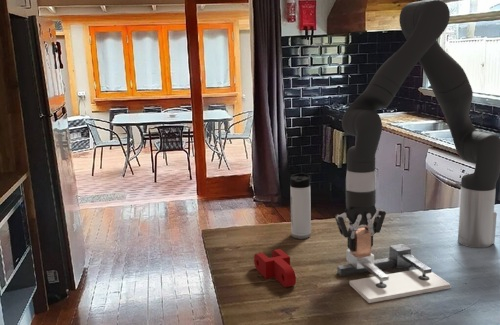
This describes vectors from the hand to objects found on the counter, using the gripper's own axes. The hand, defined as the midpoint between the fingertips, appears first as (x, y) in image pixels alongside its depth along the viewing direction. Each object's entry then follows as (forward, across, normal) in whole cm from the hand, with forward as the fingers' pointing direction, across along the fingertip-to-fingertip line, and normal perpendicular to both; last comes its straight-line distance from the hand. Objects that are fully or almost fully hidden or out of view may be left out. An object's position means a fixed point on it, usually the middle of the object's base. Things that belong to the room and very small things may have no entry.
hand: (360, 249), depth 130 cm
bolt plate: (+6, -5, +11) cm, 14 cm away
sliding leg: (+5, 0, +5) cm, 7 cm away
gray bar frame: (+6, -5, +5) cm, 10 cm away
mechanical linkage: (+7, +21, -5) cm, 23 cm away
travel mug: (+6, +5, -30) cm, 31 cm away
